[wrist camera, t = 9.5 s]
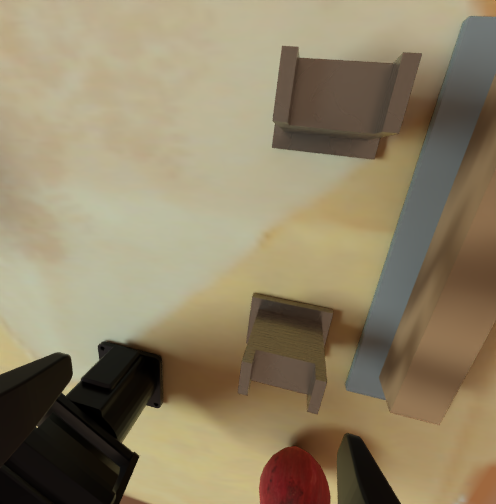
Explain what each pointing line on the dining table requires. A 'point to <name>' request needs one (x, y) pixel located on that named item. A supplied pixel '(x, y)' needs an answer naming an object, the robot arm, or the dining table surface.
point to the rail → (450, 289)
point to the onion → (293, 479)
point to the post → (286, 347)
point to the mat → (427, 195)
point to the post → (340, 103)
